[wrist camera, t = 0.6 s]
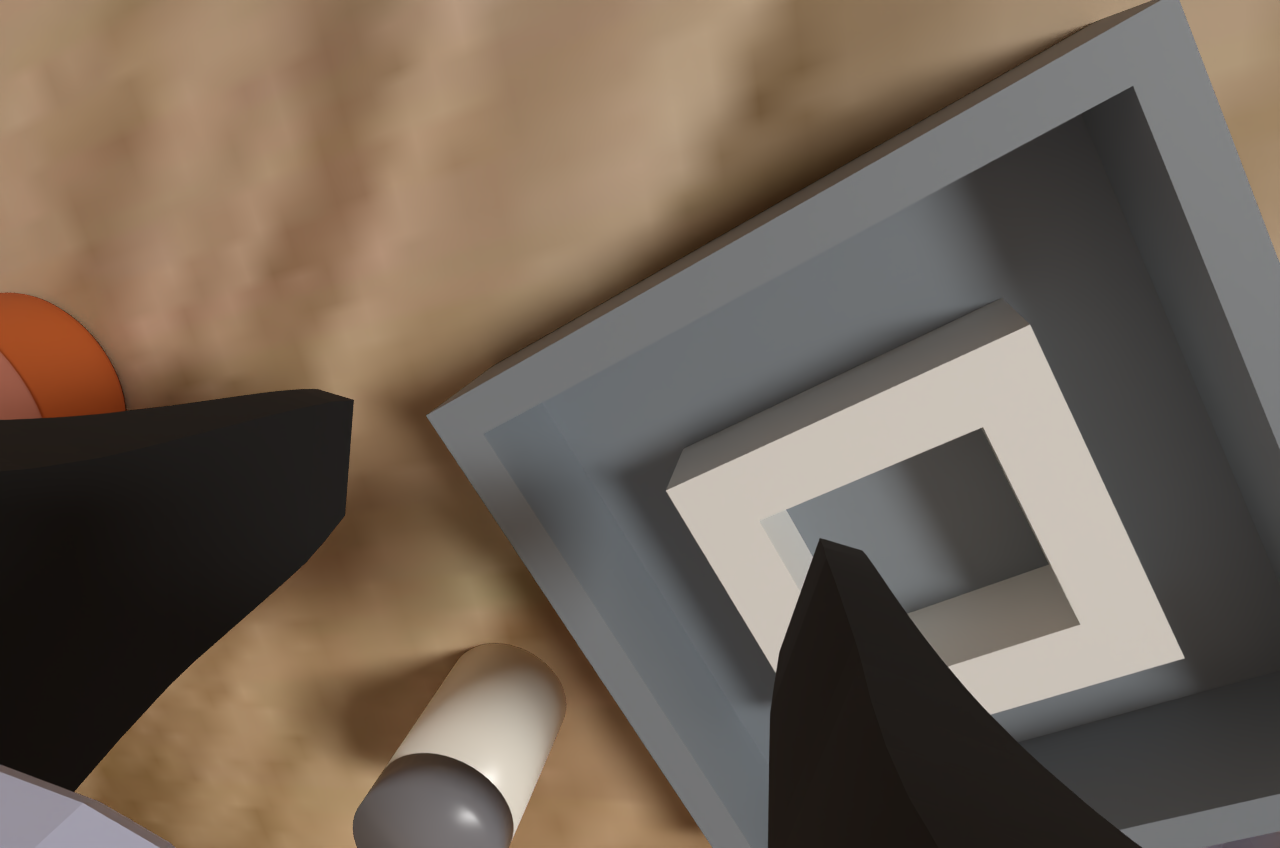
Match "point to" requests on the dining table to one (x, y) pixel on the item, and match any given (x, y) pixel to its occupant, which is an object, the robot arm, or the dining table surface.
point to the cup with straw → (51, 364)
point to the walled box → (961, 468)
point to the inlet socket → (906, 426)
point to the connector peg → (468, 756)
